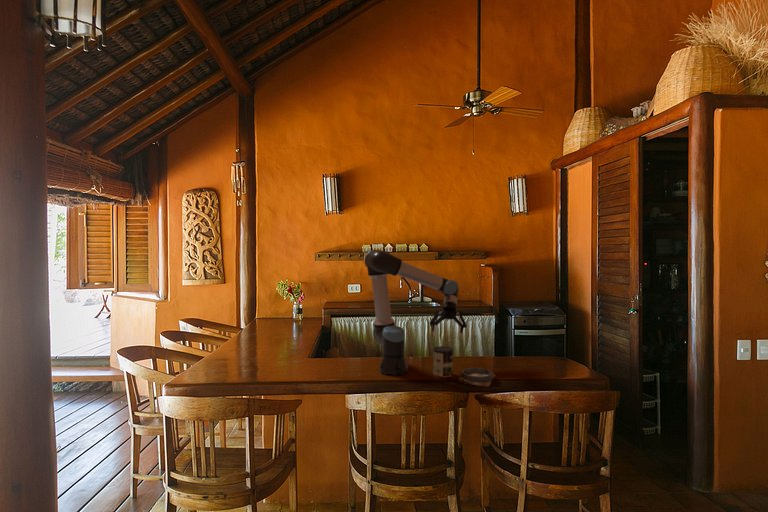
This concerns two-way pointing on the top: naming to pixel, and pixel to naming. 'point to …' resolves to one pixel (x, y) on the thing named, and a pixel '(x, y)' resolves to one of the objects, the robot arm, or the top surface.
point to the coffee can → (443, 361)
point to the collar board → (477, 376)
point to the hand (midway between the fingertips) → (446, 337)
